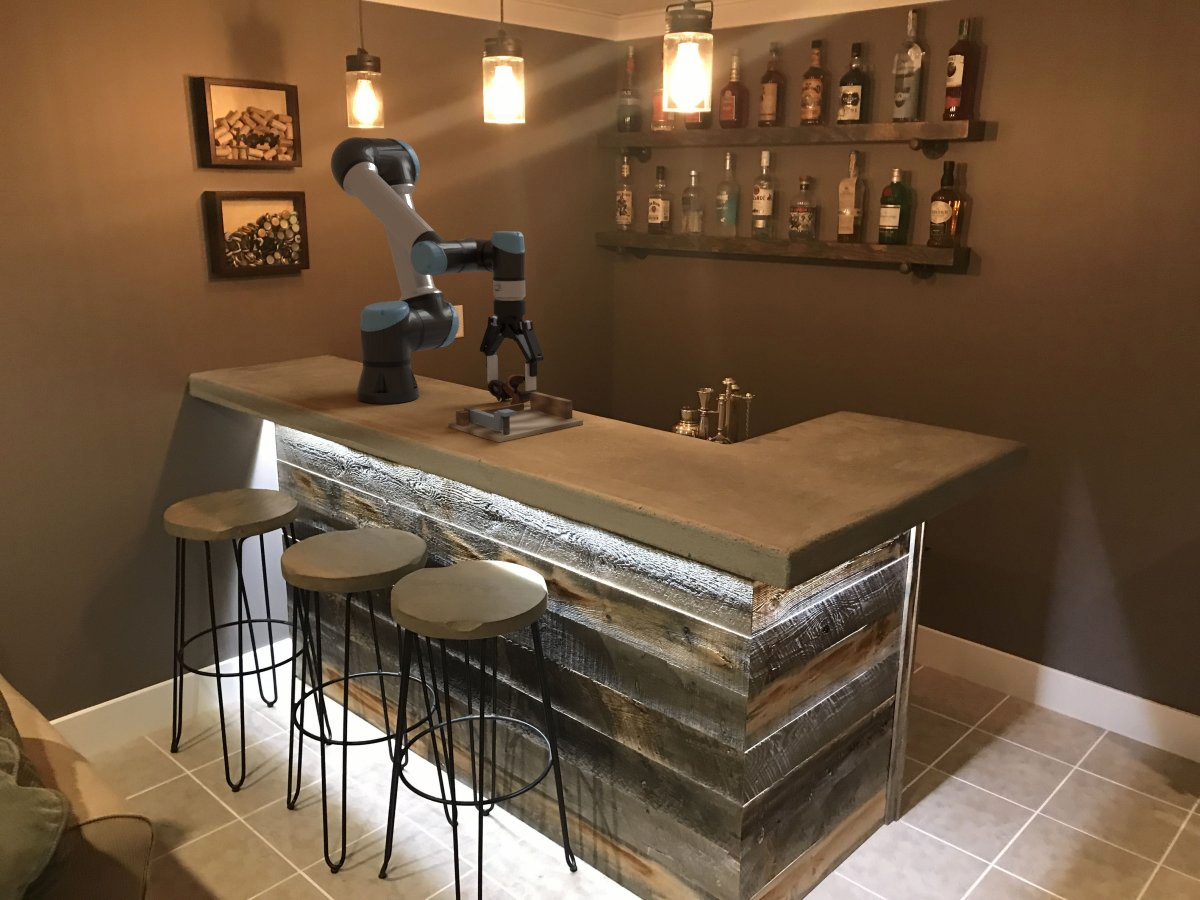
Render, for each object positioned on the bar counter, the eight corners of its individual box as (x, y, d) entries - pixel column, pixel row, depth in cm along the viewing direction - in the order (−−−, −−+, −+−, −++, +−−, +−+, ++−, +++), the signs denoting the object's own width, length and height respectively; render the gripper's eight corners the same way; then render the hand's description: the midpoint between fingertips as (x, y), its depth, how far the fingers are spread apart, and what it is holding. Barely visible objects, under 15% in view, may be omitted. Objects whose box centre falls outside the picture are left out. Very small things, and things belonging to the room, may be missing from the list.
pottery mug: (533, 400, 244) (540, 375, 239) (529, 425, 237) (536, 399, 232) (486, 389, 242) (493, 363, 237) (481, 413, 235) (487, 387, 230)
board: (448, 426, 215) (447, 404, 213) (531, 410, 231) (531, 389, 229) (498, 442, 202) (498, 419, 201) (582, 424, 218) (583, 402, 217)
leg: (515, 432, 205) (515, 411, 204) (505, 434, 203) (504, 413, 202) (473, 418, 216) (472, 398, 215) (462, 419, 215) (462, 399, 213)
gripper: (463, 295, 234) (466, 380, 239) (532, 303, 216) (534, 395, 222) (488, 293, 239) (490, 377, 244) (557, 301, 221) (558, 391, 227)
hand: (511, 387), depth 233 cm, fingers open, 14 cm apart
